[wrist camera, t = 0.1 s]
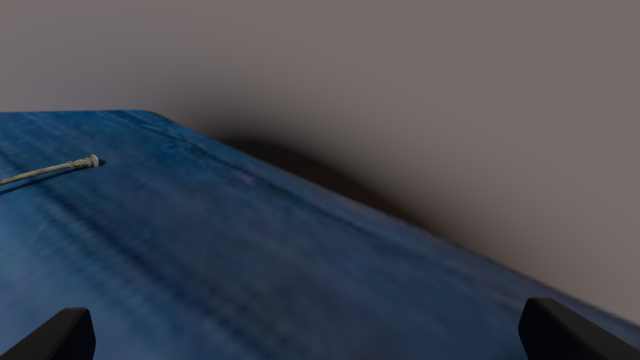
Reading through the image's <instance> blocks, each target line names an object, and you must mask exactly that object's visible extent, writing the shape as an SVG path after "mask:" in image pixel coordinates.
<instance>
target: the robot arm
mask: <svg viewBox="0 0 640 360" xmlns="http://www.w3.org/2000/svg"><path fill="white" fill-rule="evenodd" d="M518 332H519V337H520V339H521V342H522V344H523V347H524V349H525V352H526V355H527V357H528V360H640V350H638V349H637V348H635V347H633V346H632V345H630V344H628V343H627V342H625V341H623V340H622V339H620V338H618V337H617V336H615V335H613V334H611V333H610V332H608V331H606V330H605V329H603V328H601V327H600V326H598V325H596V324H595V323H593V322H591V321H590V320H588V319H586V318H585V317H583V316H581V315H580V314H578V313H576V312H574V311H573V310H571V309H569V308H568V307H566V306H564V305H563V304H561V303H559V302H558V301H556V300H554V299H553V298H551V297H548V296H533V297H530V298H529V299H528V300H527V302H526V304H525V307H524V310H523V313H522V316H521V319H520V322H519V325H518ZM95 347H96V338H95V334H94V329H93V324H92V320H91V315H90V312H89V310H88V309H87V308H84V307H77V308H64V309H62V310H61V311H59V312H58V313H57V314H55V315H54V316H53V317H51V318H50V319H49V320H47V321H46V322H45V323H43V324H42V325H41V326H39V327H38V328H37V329H35V330H34V331H33V332H31V333H30V334H29V335H27V336H26V337H25V338H23V339H22V340H21V341H19V342H18V343H17V344H16V345H14V346H13V347H12V348H10V349H9V350H8V351H6V352H5V353H4V354H2V355H1V356H0V360H93V356H94V352H95Z"/></svg>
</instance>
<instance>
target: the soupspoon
mask: <svg viewBox="0 0 640 360" xmlns="http://www.w3.org/2000/svg"><path fill="white" fill-rule="evenodd" d="M98 165H99V162H98V158H97V157H96V156H95V155H91V157H90V159H89V158H86V159H85V160H84V159H82V160H76V161H75V162H71V161H69V162H68V163H66V164H61V165H57V166H52V167H48V168H44V169H39V170H36V171H32V172H28V173H25V174H21V175H17V176H14V177H10V178H6V179H3V180H0V186H2V185H5V184H9V183H12V182H15V181H19V180H22V179H25V178H29V177H33V176H36V175H40V174H44V173H48V172H51V171H56V170H60V169H64V168H69V169H72V168H73V167H77V168H81V167H85V166H86V167H88V168H89V167H91V166H94V167H98Z"/></svg>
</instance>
